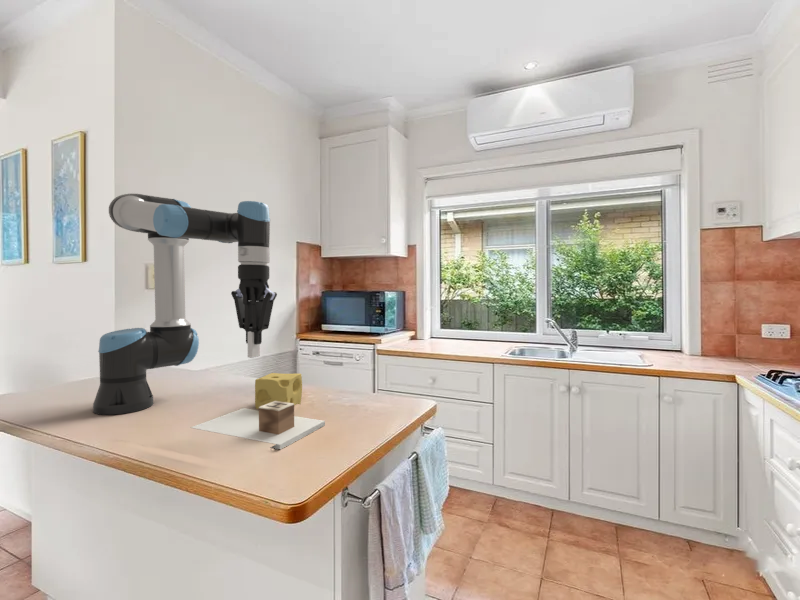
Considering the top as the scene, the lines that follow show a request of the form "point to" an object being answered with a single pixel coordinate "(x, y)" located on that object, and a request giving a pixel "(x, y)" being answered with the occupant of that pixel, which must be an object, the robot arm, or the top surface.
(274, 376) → the cheese
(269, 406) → the walnut block
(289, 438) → the cutting board
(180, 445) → the top surface
